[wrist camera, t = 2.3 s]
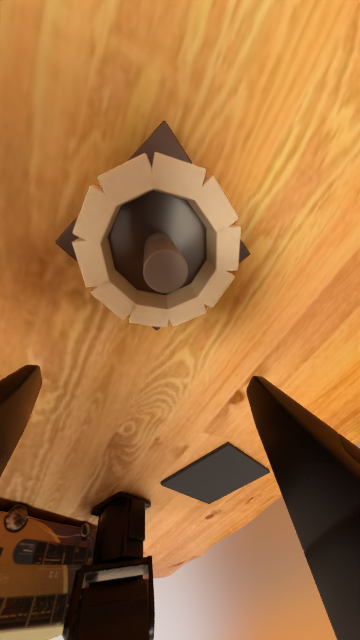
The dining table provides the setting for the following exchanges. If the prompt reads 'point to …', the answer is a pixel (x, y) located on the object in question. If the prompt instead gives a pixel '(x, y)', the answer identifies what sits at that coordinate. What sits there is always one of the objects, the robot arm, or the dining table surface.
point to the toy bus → (38, 573)
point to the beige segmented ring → (100, 218)
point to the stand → (156, 232)
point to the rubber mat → (216, 474)
